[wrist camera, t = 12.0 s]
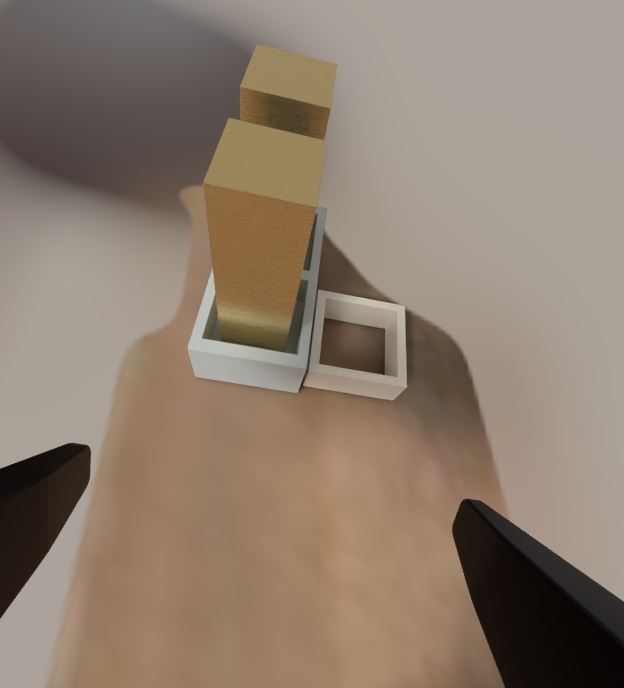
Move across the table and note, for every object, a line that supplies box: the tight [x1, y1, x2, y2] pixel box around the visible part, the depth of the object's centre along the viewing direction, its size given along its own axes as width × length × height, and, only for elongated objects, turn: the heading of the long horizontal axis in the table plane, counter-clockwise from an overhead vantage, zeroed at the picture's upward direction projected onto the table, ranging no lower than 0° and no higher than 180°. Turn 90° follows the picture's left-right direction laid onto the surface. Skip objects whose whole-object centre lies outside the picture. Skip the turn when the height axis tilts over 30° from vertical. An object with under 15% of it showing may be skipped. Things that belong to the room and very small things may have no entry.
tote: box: [303, 290, 407, 400], centre depth 25 cm, size 6×6×2 cm
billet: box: [203, 118, 327, 352], centre depth 19 cm, size 4×4×12 cm
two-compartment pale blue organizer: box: [187, 207, 326, 393], centre depth 26 cm, size 14×7×4 cm, turn 174°
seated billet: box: [240, 44, 337, 140], centre depth 22 cm, size 4×4×12 cm
